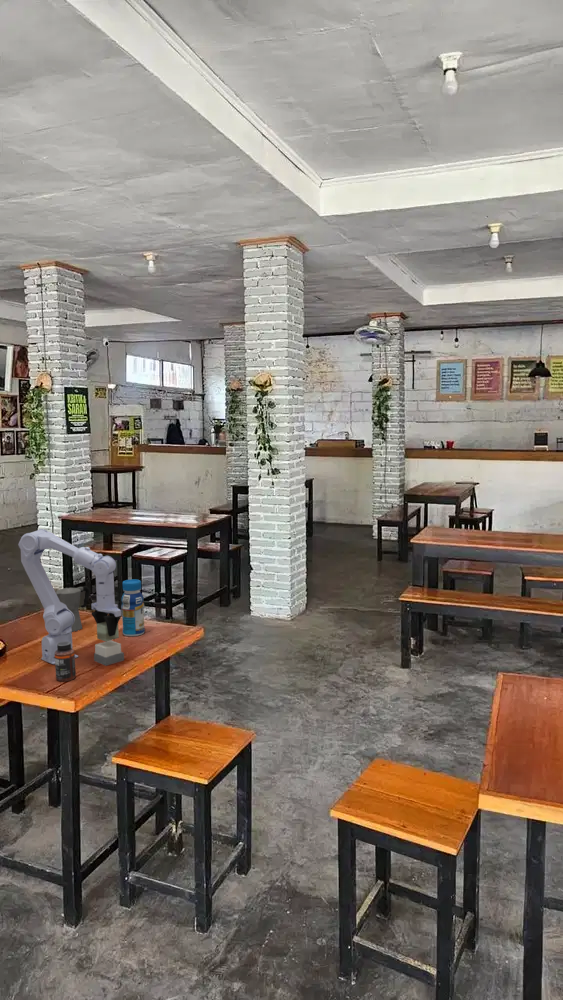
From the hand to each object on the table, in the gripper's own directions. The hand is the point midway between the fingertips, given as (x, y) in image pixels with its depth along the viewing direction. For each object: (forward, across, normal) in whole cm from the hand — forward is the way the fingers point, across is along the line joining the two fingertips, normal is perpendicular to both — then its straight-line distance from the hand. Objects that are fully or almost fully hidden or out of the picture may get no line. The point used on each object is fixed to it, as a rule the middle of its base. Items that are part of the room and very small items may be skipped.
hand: (107, 633), depth 233 cm
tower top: (+7, 0, 0) cm, 7 cm away
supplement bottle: (+9, -4, +18) cm, 21 cm away
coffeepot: (+9, +41, -12) cm, 44 cm away
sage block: (+2, 0, 0) cm, 2 cm away
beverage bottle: (+9, +18, -23) cm, 31 cm away
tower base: (+10, 0, 0) cm, 10 cm away
